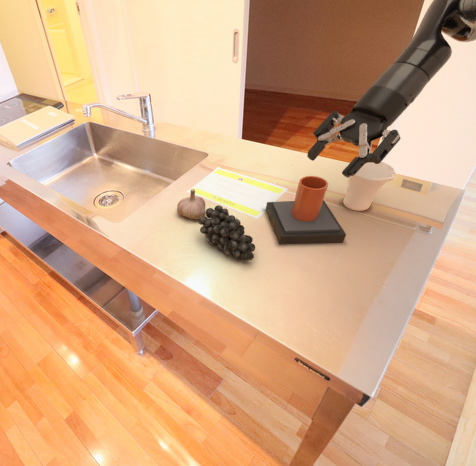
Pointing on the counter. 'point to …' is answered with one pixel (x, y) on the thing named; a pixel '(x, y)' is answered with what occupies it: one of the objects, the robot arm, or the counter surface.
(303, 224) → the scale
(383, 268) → the counter surface
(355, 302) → the counter surface
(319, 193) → the terracotta cup
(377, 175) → the cup
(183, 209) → the garlic bulb
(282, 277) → the counter surface
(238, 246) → the fruit
